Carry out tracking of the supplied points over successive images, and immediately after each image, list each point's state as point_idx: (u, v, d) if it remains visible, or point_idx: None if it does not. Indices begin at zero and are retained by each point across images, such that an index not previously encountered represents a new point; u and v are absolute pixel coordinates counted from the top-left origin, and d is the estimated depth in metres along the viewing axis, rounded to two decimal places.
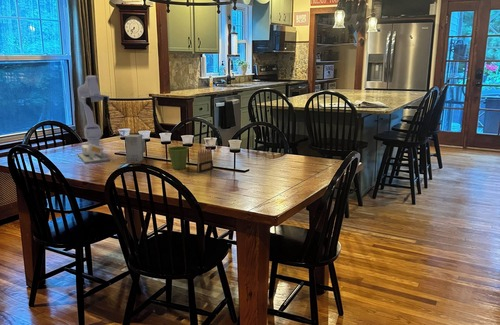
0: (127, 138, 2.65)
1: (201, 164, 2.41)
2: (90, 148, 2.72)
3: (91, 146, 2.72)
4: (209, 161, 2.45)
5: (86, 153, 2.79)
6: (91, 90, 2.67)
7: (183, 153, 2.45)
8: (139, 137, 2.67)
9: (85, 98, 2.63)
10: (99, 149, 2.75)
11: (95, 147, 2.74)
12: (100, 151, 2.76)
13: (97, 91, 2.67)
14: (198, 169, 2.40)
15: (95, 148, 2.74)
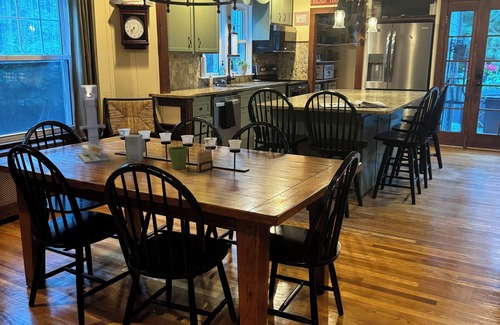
0: (127, 138, 2.65)
1: (201, 164, 2.41)
2: (90, 148, 2.72)
3: (91, 146, 2.72)
4: (209, 161, 2.45)
5: (86, 153, 2.79)
6: (89, 119, 2.72)
7: (183, 153, 2.45)
8: (139, 137, 2.67)
9: (82, 129, 2.72)
10: (99, 149, 2.75)
11: (95, 147, 2.74)
12: (100, 151, 2.76)
13: (94, 122, 2.73)
14: (198, 169, 2.40)
15: (95, 148, 2.74)
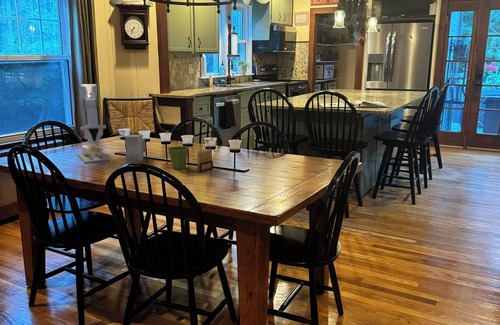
0: (127, 138, 2.65)
1: (201, 164, 2.41)
2: (90, 148, 2.72)
3: (91, 146, 2.72)
4: (209, 161, 2.45)
5: (86, 153, 2.79)
6: (89, 120, 2.70)
7: (183, 153, 2.45)
8: (139, 137, 2.67)
9: (82, 129, 2.70)
10: (99, 149, 2.75)
11: (95, 147, 2.74)
12: (100, 151, 2.76)
13: (95, 122, 2.71)
14: (198, 169, 2.40)
15: (95, 148, 2.74)
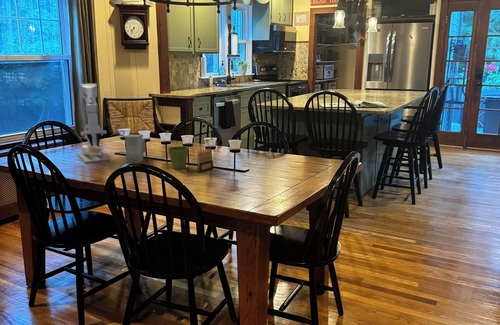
0: (127, 138, 2.65)
1: (201, 164, 2.41)
2: (89, 149, 2.72)
3: (90, 147, 2.72)
4: (209, 161, 2.45)
5: (86, 153, 2.79)
6: (90, 125, 2.70)
7: (183, 153, 2.45)
8: (139, 137, 2.67)
9: (83, 134, 2.70)
10: (98, 149, 2.75)
11: (94, 148, 2.73)
12: (99, 151, 2.75)
13: (96, 128, 2.71)
14: (198, 169, 2.40)
15: (94, 149, 2.73)
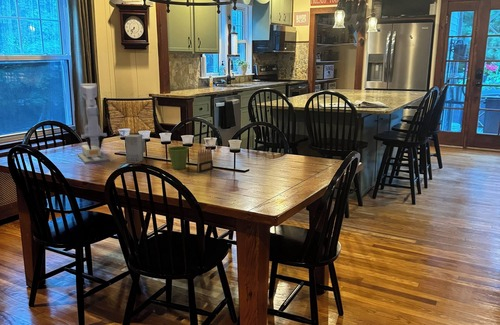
0: (127, 138, 2.65)
1: (201, 164, 2.41)
2: (88, 153, 2.72)
3: (88, 151, 2.72)
4: (209, 161, 2.45)
5: None
6: (90, 128, 2.71)
7: (183, 153, 2.45)
8: (139, 137, 2.67)
9: (83, 137, 2.70)
10: (96, 150, 2.74)
11: (92, 150, 2.73)
12: (98, 152, 2.75)
13: (96, 130, 2.72)
14: (198, 169, 2.40)
15: (92, 151, 2.73)
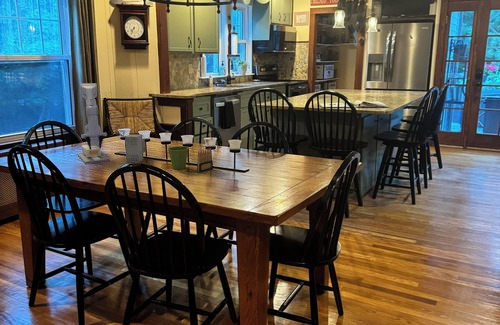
0: (127, 138, 2.65)
1: (201, 164, 2.41)
2: (88, 153, 2.72)
3: (88, 151, 2.72)
4: (209, 161, 2.45)
5: None
6: (90, 128, 2.70)
7: (183, 153, 2.45)
8: (139, 137, 2.67)
9: (83, 137, 2.70)
10: (96, 150, 2.74)
11: (92, 150, 2.73)
12: (98, 152, 2.75)
13: (96, 130, 2.72)
14: (198, 169, 2.40)
15: (92, 151, 2.73)
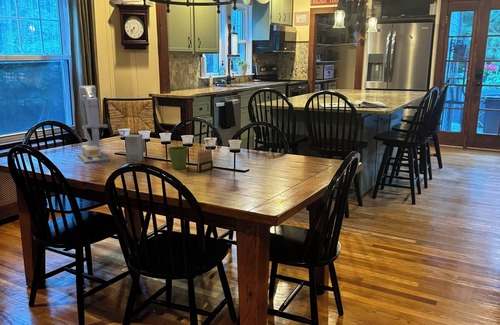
0: (127, 138, 2.65)
1: (201, 164, 2.41)
2: (88, 153, 2.72)
3: (88, 151, 2.72)
4: (209, 161, 2.45)
5: None
6: (91, 119, 2.73)
7: (183, 153, 2.45)
8: (139, 137, 2.67)
9: (84, 128, 2.73)
10: (96, 150, 2.74)
11: (92, 150, 2.73)
12: (98, 152, 2.75)
13: (97, 122, 2.75)
14: (198, 169, 2.40)
15: (92, 151, 2.73)
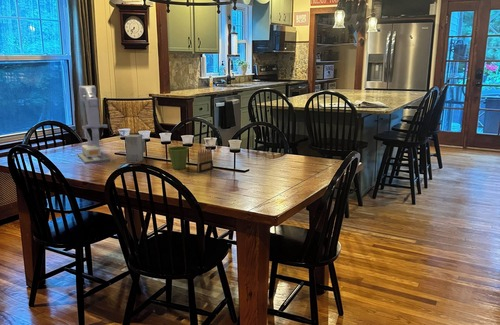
0: (127, 138, 2.65)
1: (201, 164, 2.41)
2: (88, 153, 2.72)
3: (88, 151, 2.72)
4: (209, 161, 2.45)
5: None
6: (91, 119, 2.73)
7: (183, 153, 2.45)
8: (139, 137, 2.67)
9: (84, 128, 2.73)
10: (96, 150, 2.74)
11: (92, 150, 2.73)
12: (98, 152, 2.75)
13: (97, 122, 2.75)
14: (198, 169, 2.40)
15: (92, 151, 2.73)
